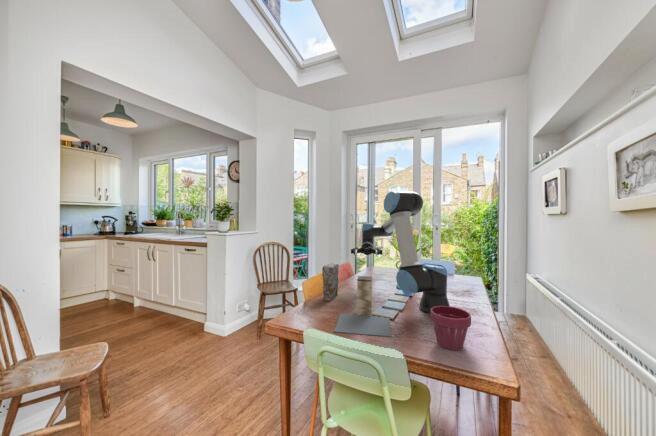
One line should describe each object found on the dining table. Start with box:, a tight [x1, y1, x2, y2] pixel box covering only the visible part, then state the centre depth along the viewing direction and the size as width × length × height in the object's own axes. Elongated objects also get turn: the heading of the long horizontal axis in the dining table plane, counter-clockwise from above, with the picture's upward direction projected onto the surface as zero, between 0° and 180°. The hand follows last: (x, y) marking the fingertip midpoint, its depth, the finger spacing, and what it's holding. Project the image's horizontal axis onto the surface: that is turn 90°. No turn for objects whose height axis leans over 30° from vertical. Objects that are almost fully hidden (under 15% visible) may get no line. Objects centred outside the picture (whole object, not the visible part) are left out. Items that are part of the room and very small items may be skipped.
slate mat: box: [333, 313, 393, 338], centre depth 121 cm, size 24×20×1 cm
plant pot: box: [430, 306, 472, 351], centre depth 103 cm, size 14×14×13 cm
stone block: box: [321, 262, 340, 302], centre depth 159 cm, size 13×7×20 cm, turn 164°
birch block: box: [356, 275, 373, 316], centre depth 135 cm, size 7×7×18 cm
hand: (365, 253), depth 148 cm, fingers open, 11 cm apart
